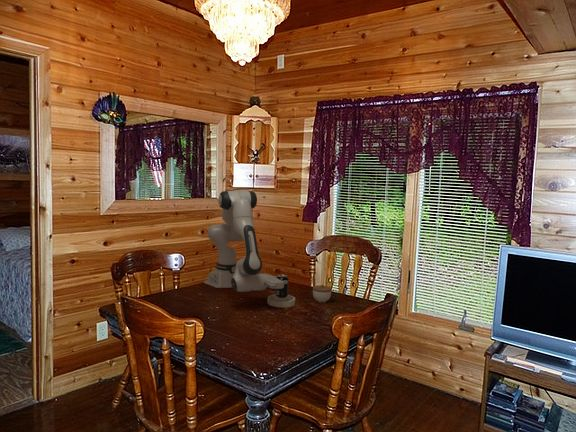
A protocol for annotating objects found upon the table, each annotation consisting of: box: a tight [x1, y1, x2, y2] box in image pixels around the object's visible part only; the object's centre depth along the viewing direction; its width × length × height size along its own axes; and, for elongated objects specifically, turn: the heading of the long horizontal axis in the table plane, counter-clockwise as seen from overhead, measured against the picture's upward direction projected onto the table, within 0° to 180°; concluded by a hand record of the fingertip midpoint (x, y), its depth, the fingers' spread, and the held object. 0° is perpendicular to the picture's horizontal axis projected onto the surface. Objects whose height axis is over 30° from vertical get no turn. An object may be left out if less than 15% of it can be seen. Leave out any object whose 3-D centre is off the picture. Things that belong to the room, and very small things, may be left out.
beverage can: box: [275, 274, 289, 298], centre depth 231 cm, size 7×7×12 cm
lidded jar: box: [312, 284, 332, 303], centre depth 240 cm, size 11×11×9 cm
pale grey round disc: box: [266, 293, 296, 308], centre depth 232 cm, size 15×15×3 cm
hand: (283, 280), depth 231 cm, fingers closed on beverage can, 6 cm apart
